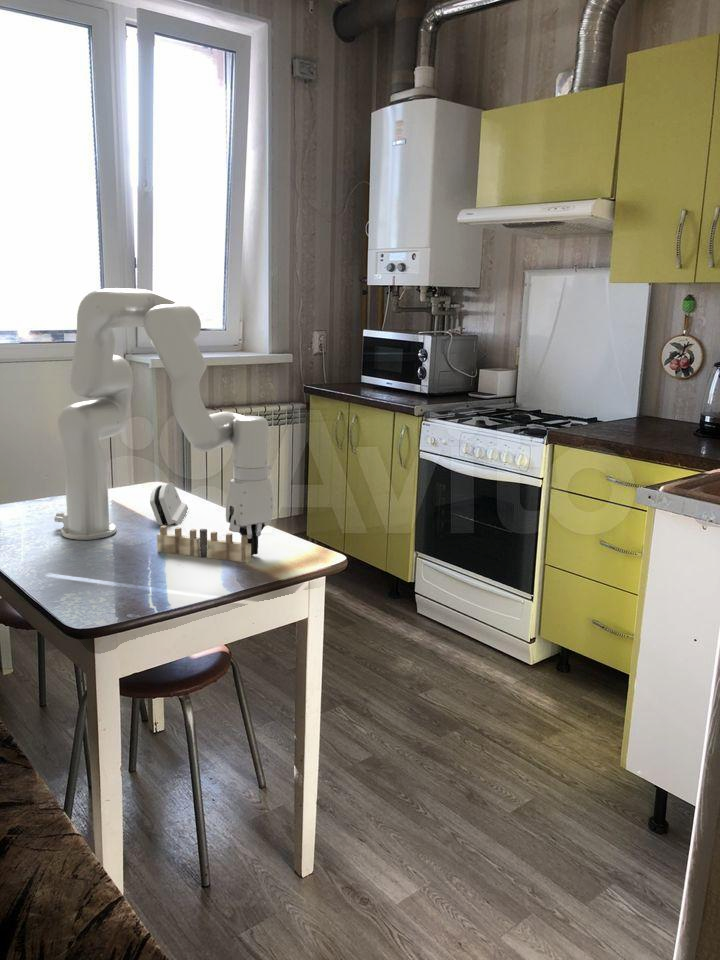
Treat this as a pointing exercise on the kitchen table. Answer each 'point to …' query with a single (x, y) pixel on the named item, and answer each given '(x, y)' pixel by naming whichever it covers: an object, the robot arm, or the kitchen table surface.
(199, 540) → the fence fixed
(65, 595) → the kitchen table surface
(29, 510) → the kitchen table surface
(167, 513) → the black-banded white body
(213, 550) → the fence flap
